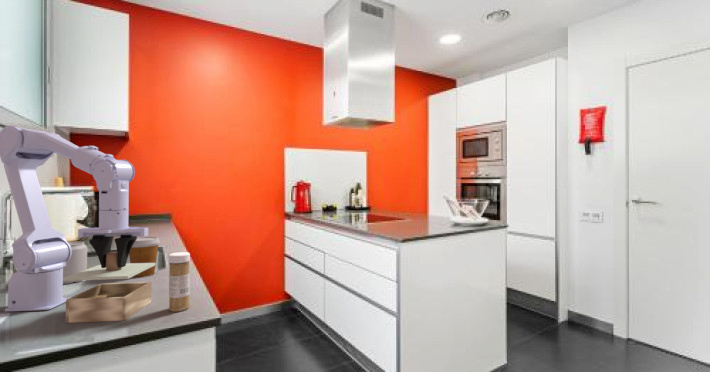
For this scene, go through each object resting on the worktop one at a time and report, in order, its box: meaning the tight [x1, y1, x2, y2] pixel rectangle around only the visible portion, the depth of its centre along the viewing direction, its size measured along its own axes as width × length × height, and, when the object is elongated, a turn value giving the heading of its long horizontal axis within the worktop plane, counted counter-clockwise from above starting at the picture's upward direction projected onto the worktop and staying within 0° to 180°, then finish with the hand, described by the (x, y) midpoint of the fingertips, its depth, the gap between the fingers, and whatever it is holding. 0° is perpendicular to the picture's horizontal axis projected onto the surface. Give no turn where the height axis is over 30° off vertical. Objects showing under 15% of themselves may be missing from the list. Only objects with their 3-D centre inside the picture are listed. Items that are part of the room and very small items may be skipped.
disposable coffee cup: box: [128, 236, 161, 278], centre depth 112 cm, size 10×10×12 cm
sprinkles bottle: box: [168, 251, 191, 313], centre depth 81 cm, size 5×5×14 cm
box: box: [65, 281, 152, 324], centre depth 79 cm, size 12×12×5 cm
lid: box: [64, 251, 157, 281], centre depth 80 cm, size 13×13×5 cm
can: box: [63, 241, 88, 285], centre depth 104 cm, size 8×8×12 cm
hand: (113, 266), depth 80 cm, fingers closed on lid, 3 cm apart
